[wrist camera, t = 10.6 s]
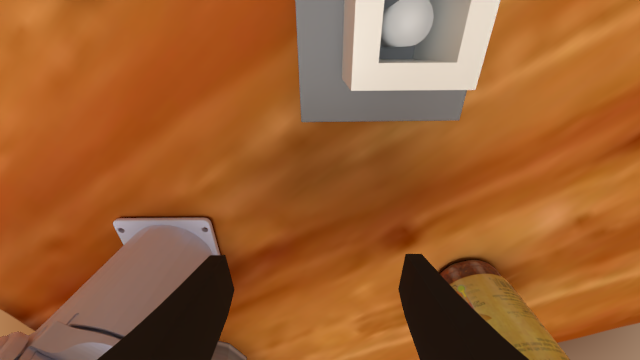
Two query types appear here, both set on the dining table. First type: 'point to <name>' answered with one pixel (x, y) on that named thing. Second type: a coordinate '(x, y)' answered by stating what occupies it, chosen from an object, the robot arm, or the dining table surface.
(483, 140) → the dining table surface
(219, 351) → the can
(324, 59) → the base plate
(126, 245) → the robot arm
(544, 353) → the sauce bottle
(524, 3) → the dining table surface
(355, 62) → the box
